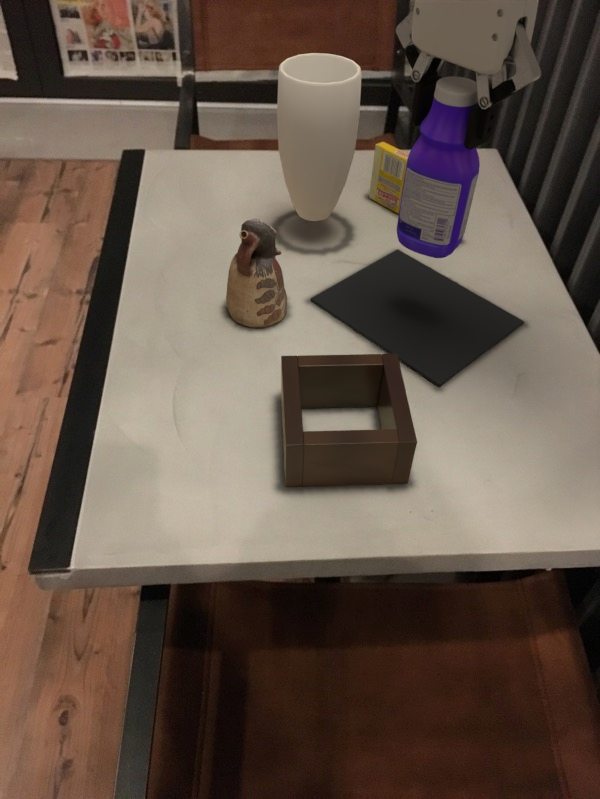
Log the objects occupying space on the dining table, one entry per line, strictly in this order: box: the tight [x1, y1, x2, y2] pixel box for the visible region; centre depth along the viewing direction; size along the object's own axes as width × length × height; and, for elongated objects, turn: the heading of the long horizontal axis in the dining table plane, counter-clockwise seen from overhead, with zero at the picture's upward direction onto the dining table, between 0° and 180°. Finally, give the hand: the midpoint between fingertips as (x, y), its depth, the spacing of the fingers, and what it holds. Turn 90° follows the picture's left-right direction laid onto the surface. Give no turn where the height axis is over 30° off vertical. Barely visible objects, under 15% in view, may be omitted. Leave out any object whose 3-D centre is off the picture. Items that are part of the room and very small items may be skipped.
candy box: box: [368, 141, 409, 215], centre depth 94 cm, size 16×2×8 cm, turn 41°
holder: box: [280, 353, 418, 487], centre depth 66 cm, size 12×12×6 cm
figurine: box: [225, 218, 288, 328], centre depth 78 cm, size 7×7×12 cm
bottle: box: [396, 75, 481, 259], centre depth 69 cm, size 7×6×17 cm
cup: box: [276, 52, 363, 222], centre depth 86 cm, size 10×10×22 cm
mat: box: [310, 249, 525, 388], centre depth 82 cm, size 20×16×1 cm
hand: (449, 131), depth 66 cm, fingers closed on bottle, 5 cm apart
